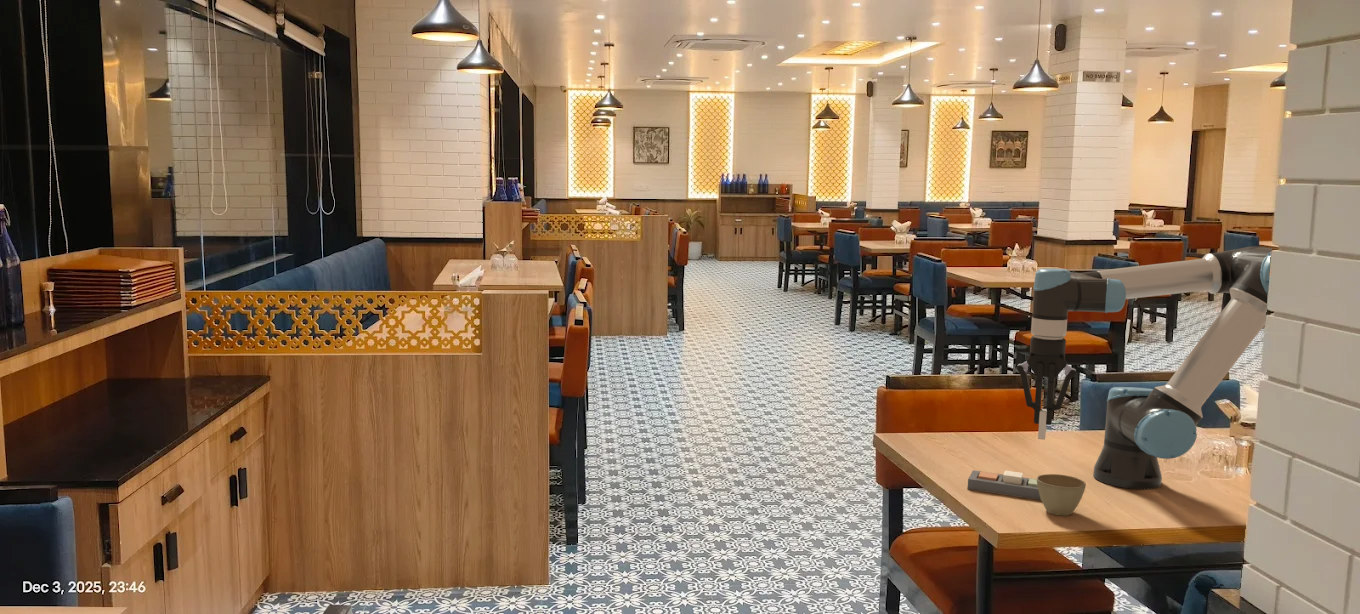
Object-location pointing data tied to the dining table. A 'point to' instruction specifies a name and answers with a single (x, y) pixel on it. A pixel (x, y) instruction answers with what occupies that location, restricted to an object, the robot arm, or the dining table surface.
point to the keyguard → (1002, 486)
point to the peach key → (988, 476)
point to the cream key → (1013, 477)
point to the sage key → (1032, 482)
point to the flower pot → (1060, 493)
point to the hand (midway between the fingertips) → (1041, 437)
